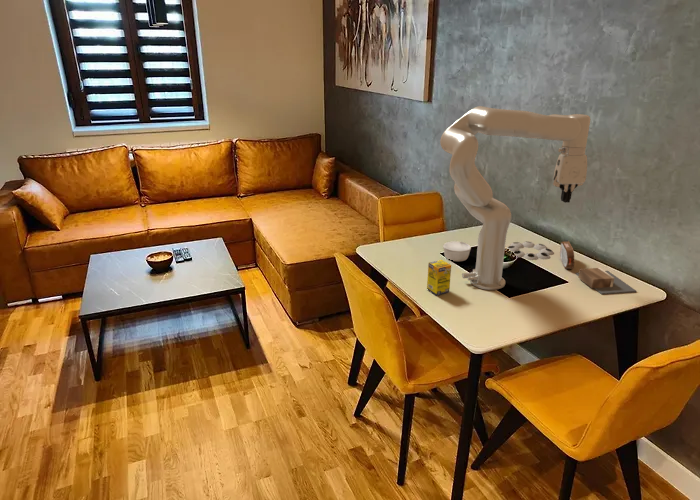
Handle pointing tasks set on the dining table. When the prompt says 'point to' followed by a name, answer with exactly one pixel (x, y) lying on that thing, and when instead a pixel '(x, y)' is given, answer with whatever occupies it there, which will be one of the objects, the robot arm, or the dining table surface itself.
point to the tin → (567, 255)
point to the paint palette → (540, 247)
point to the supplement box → (439, 277)
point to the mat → (615, 287)
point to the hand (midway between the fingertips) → (565, 201)
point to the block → (596, 278)
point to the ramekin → (456, 250)
